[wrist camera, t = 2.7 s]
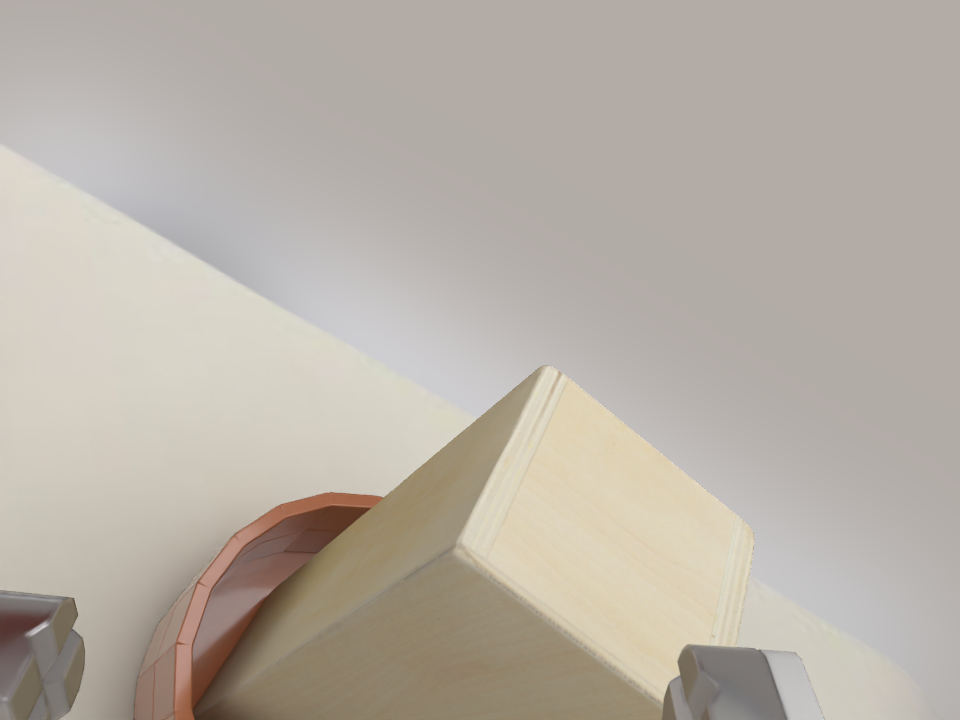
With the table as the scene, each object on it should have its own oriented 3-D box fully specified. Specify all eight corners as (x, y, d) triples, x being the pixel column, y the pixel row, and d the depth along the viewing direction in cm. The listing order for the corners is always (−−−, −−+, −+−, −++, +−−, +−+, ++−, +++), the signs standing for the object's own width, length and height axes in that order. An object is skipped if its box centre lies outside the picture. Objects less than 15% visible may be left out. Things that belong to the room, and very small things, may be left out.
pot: (57, 672, 32) (87, 630, 28) (329, 488, 42) (382, 436, 38) (279, 993, 31) (346, 1000, 27) (506, 725, 41) (582, 699, 36)
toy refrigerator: (421, 677, 39) (766, 511, 24) (344, 839, 34) (721, 756, 19) (280, 575, 38) (550, 337, 23) (178, 728, 33) (442, 548, 18)
